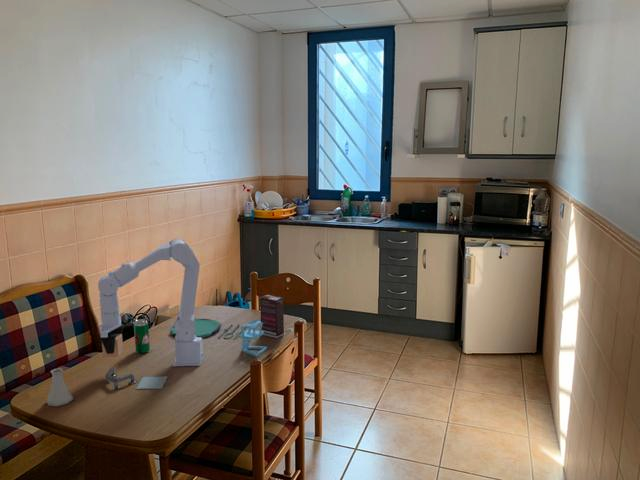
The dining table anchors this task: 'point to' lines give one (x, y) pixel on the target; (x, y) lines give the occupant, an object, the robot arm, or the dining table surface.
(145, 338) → the soda can
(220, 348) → the dining table surface
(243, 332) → the chair
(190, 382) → the dining table surface
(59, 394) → the flask
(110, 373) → the bent jointed bar linkage
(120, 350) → the pink block with hole
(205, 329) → the cutlery set
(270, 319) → the supplement box
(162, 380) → the mat
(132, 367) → the dining table surface
